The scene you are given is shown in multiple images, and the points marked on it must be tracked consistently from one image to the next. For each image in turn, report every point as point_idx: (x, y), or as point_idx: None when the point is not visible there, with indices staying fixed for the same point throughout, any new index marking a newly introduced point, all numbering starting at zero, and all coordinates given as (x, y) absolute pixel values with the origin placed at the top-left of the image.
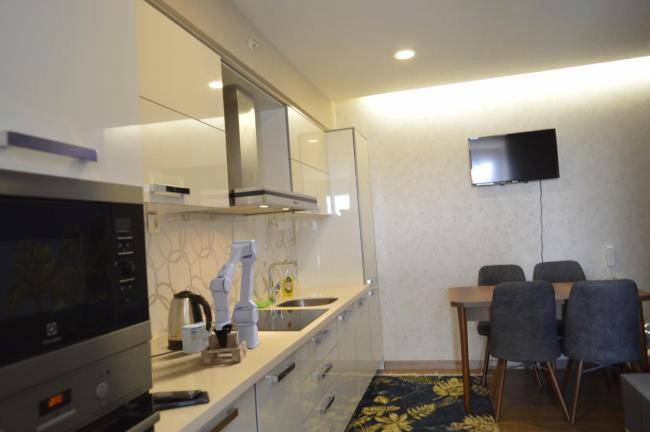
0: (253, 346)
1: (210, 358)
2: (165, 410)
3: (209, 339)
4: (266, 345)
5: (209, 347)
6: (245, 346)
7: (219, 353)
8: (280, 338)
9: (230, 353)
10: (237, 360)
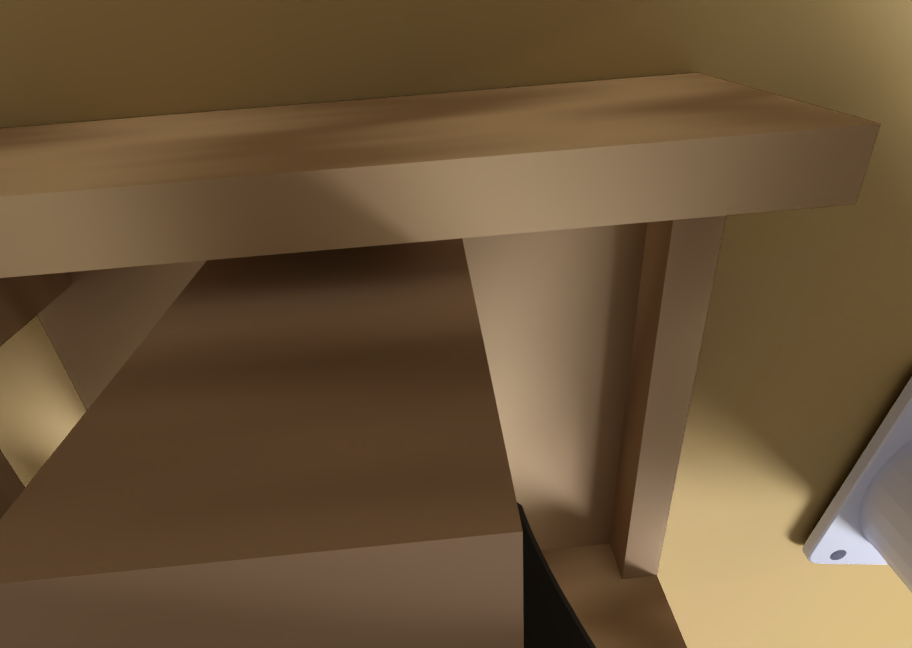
0: (842, 557)
1: (31, 314)
2: None
3: (46, 511)
4: (869, 616)
5: (166, 321)
6: None
7: (621, 253)
8: None
9: (558, 421)
10: None
